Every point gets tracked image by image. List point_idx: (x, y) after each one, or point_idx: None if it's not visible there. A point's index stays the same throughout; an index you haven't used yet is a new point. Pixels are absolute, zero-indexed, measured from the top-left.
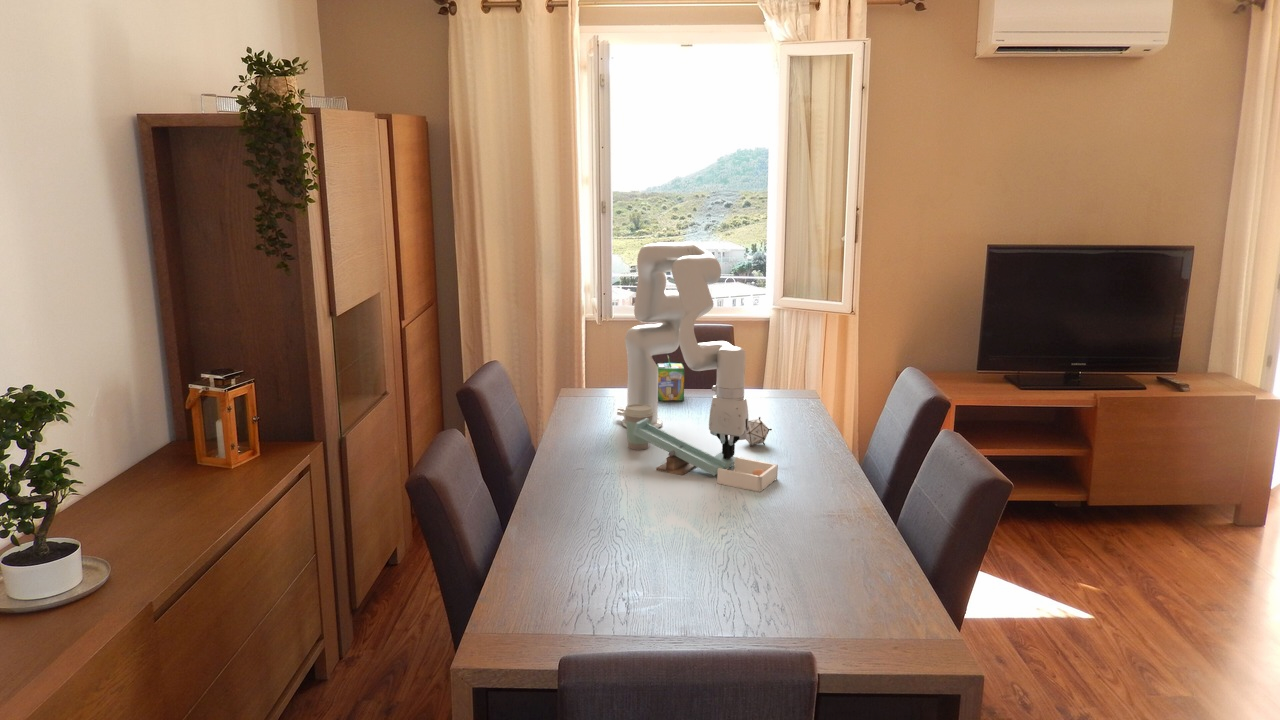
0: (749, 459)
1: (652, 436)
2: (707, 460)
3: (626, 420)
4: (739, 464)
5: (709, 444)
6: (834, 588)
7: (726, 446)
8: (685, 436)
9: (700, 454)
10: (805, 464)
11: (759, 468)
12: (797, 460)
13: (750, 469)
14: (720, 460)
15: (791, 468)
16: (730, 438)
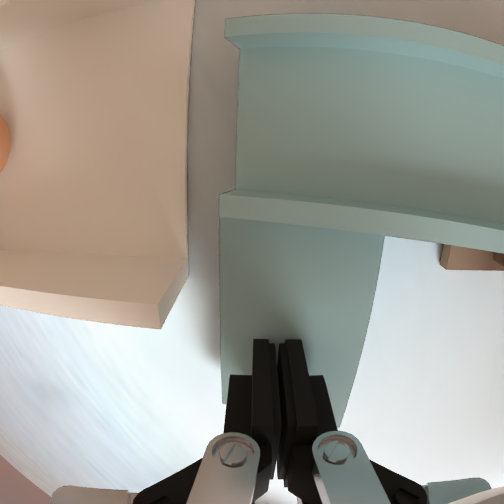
0: (48, 310)
1: None
2: (394, 173)
3: None
4: (130, 276)
5: (414, 478)
6: None
7: (286, 421)
8: (480, 470)
9: (478, 221)
10: (37, 439)
11: (11, 267)
12: (75, 464)
13: (66, 264)
14: (273, 207)
15: (31, 400)
16: (232, 500)
